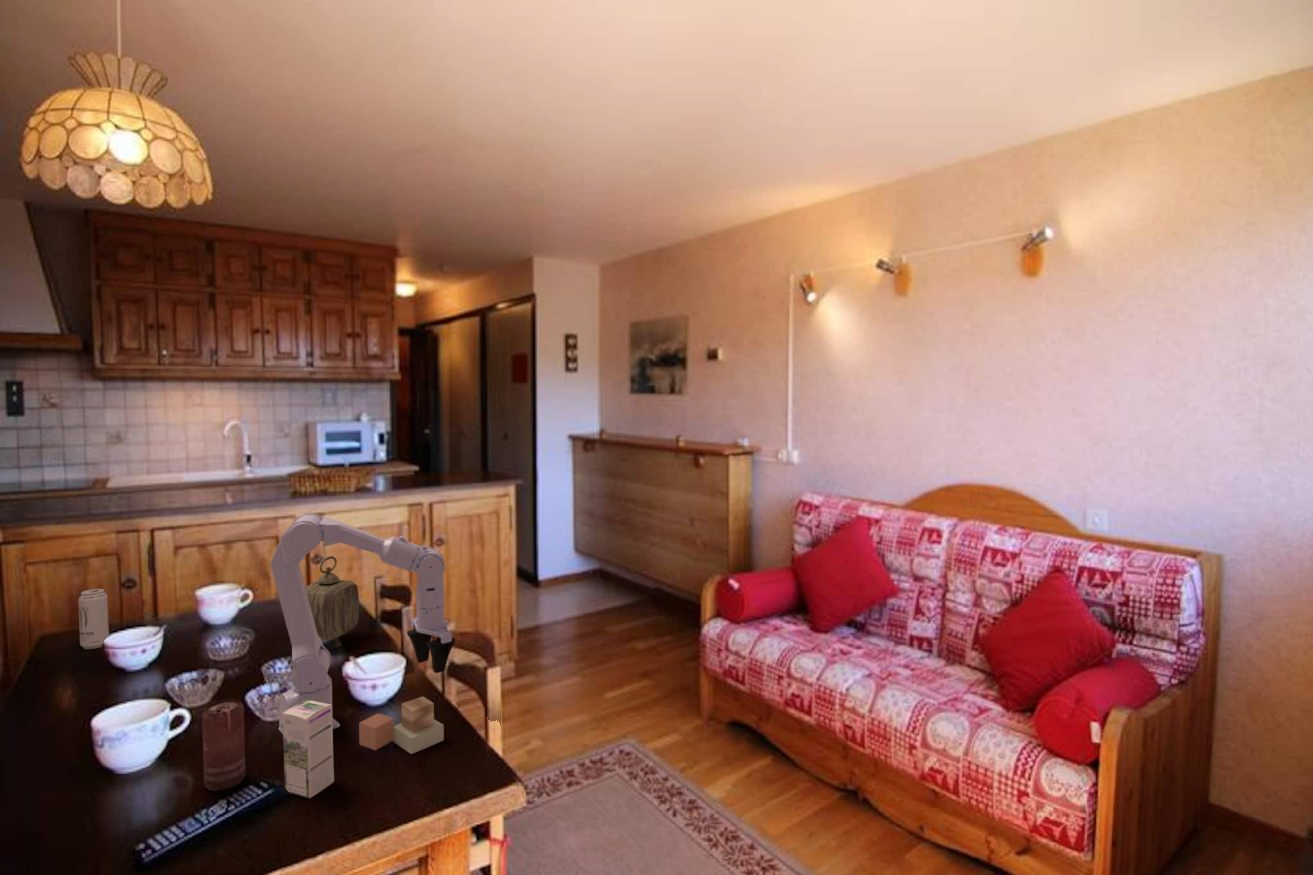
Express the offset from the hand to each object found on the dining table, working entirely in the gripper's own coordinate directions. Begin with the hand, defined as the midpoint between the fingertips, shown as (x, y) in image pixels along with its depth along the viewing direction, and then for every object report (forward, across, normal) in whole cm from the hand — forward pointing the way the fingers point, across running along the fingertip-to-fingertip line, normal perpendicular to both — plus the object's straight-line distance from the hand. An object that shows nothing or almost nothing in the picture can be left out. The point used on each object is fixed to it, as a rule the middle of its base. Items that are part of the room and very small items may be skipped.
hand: (431, 666), depth 146 cm
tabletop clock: (+10, +53, +2) cm, 54 cm away
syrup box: (+10, -12, +29) cm, 33 cm away
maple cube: (+7, -10, +8) cm, 15 cm away
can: (+10, 0, +39) cm, 40 cm away
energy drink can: (+10, +98, +47) cm, 109 cm away
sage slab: (+10, -10, +8) cm, 17 cm away
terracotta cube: (+10, -5, +14) cm, 18 cm away
